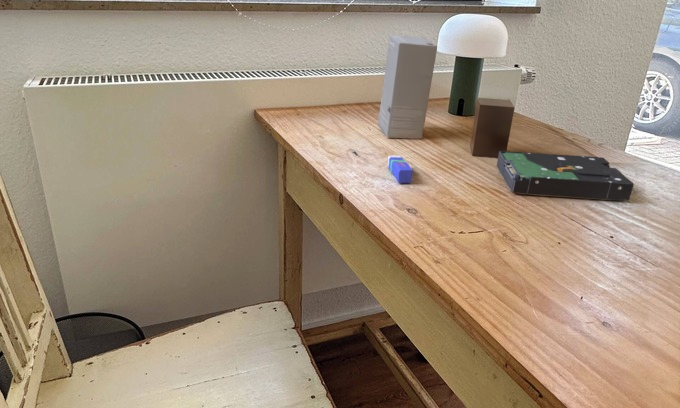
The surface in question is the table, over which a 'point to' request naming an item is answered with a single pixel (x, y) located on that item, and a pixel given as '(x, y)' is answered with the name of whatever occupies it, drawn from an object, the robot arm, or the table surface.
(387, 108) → the cosmetic box
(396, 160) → the eraser
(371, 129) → the table surface
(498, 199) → the table surface
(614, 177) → the disk drive
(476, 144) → the walnut block
